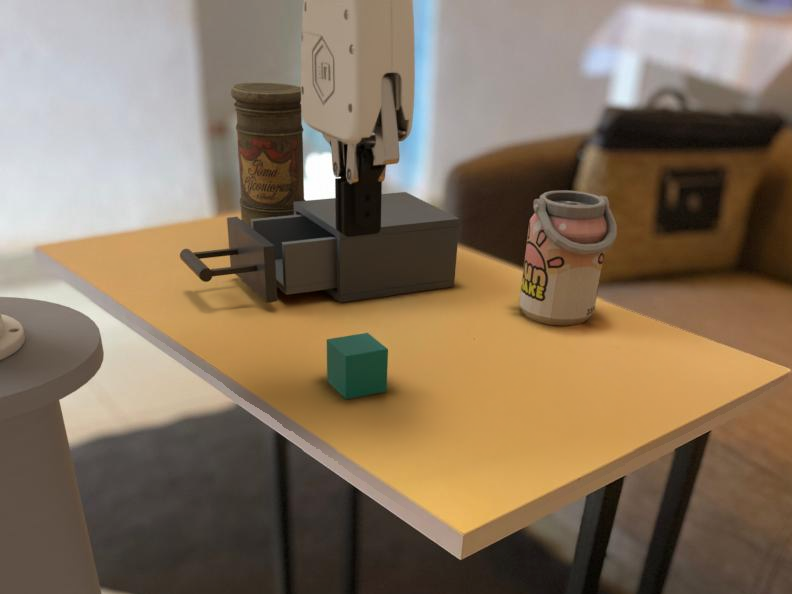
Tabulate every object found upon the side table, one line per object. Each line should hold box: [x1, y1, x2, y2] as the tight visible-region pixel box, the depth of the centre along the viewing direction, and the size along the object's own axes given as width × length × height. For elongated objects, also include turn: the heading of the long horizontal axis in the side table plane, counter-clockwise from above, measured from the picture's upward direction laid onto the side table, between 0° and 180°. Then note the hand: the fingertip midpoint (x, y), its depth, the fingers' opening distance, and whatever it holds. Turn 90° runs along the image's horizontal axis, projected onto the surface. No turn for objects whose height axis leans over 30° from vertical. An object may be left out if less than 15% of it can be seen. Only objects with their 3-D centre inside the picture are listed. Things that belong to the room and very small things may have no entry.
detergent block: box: [326, 332, 389, 400], centre depth 73 cm, size 4×4×4 cm
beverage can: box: [518, 189, 618, 327], centre depth 87 cm, size 9×8×12 cm
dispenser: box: [293, 191, 461, 303], centre depth 96 cm, size 15×13×8 cm
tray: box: [179, 214, 337, 304], centre depth 91 cm, size 20×11×6 cm, turn 118°
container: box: [230, 82, 306, 227], centre depth 101 cm, size 9×9×18 cm
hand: (358, 231), depth 67 cm, fingers closed
